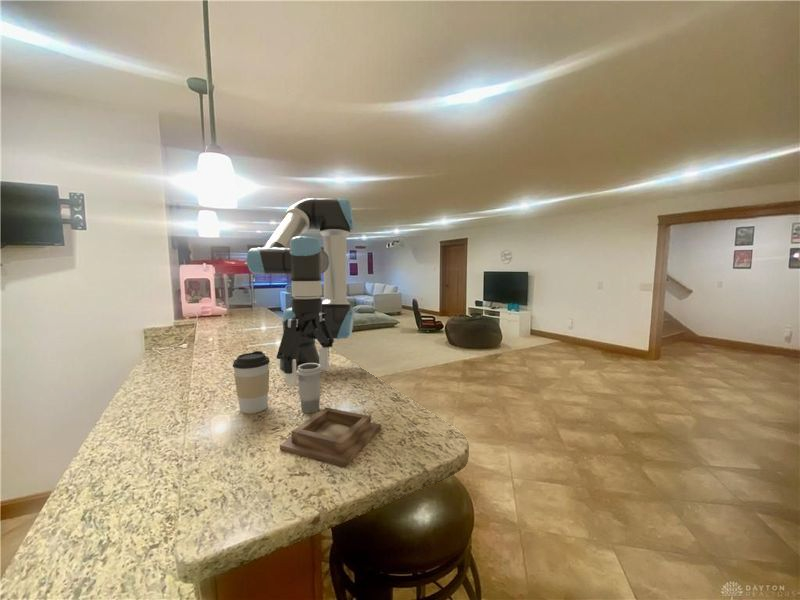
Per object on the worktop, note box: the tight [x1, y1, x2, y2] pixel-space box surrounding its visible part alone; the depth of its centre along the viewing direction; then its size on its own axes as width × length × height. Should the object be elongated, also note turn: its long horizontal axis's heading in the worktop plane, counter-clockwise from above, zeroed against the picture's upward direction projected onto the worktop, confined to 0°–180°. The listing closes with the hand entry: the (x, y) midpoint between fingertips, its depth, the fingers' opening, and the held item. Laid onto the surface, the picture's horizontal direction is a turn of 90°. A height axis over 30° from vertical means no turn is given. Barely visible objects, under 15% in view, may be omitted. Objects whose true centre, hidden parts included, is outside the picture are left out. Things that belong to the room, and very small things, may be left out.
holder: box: [279, 407, 382, 468], centre depth 72 cm, size 16×16×4 cm
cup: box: [296, 363, 323, 414], centre depth 86 cm, size 7×7×12 cm
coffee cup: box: [232, 350, 271, 414], centre depth 87 cm, size 9×9×15 cm
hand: (309, 377), depth 85 cm, fingers open, 13 cm apart
